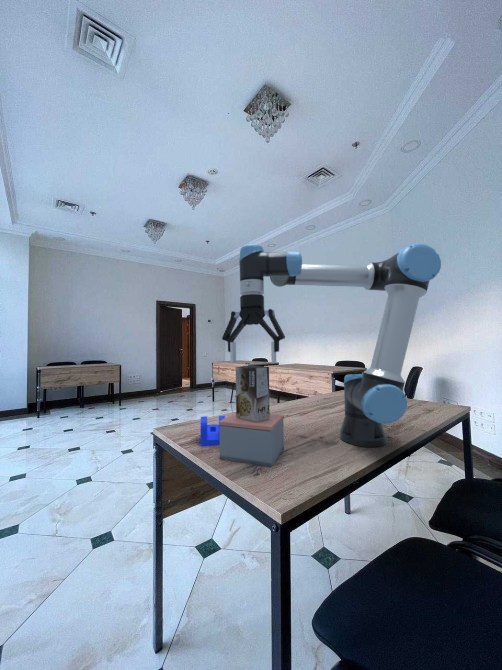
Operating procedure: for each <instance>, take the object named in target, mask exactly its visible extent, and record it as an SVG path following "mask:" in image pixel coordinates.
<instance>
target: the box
mask: <svg viewBox="0 0 502 670" xmlns="http://www.w3.org/2000/svg"><path fill="white" fill-rule="evenodd" d="M219 431H220V445H219V459H220V460H224V461H230V462H231V461H232V462H237V463H243V464H250V465H255V466H256V465H257V466H262V467H269V468H272V467H273V466H274V464H275V462H276V460H277V459H278V458H279V457H280V455H281V453H282V452H283V451H284V450H285V449H284V448H285V447H284V445H285V442H284V441H285V440H284V435H285V433H284V419H283V420H282V421H281V422H280V423H279V424H278V425H277V426H276V427H275V428H274V429H273V430H272V431H269V430H260V429H251V428H242V427H233V426H224V425H220V426H219Z"/></svg>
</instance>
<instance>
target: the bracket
mask: <svg viewBox="0 0 502 670" xmlns="http://www.w3.org/2000/svg"><path fill="white" fill-rule="evenodd" d="M224 418H226V416H225V415H218V422H219V421H221V420H223V419H224ZM219 426H220V425H219V423H218V424H215V423H214V424H208V416H200V447H212V446H213V447H214V446H220V431H219Z"/></svg>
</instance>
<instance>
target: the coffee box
mask: <svg viewBox="0 0 502 670" xmlns="http://www.w3.org/2000/svg"><path fill="white" fill-rule="evenodd" d="M235 411H236V418H240V419H245V420H249V421H253V422H260V421H263V420H267V419H269V418H270V414H271V413H270V366H264V365H263V366H260V365H243V366H236V367H235Z"/></svg>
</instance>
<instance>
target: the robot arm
mask: <svg viewBox="0 0 502 670" xmlns="http://www.w3.org/2000/svg"><path fill="white" fill-rule="evenodd" d="M440 257H441V256H440V255H439V254H438V253H437V251H436V249H434V248H433V247H432V246H430V245H428V244H426V243H425V244H424V243H413V244H410V245H408V246H406V247H403V248H401V250H399V251H398V252H397V253H396V254H394V255H392V256H391V257H389V258H388V259H385V260H382V261H379V262H378V261H377V262H371V261H370V262H368V263H366V265H365V264H364V265H361V264H328V263H327V264H326V263H325V264H322V263H321V264H320V263H317V264H316V263H303V256H302V253H301V252H300V251H291V250H288V251H272V252H271V251H268V252H267V251H264V247H263V246H262V245H260V244H255V243H249V244H245V245H243V246H242V247H240V250H239V293H240V295H241V296H240V297H239V305H240V306H239V307H240V309H239V311H235V310H233V311H231V312H230V319H229V321H228V323H227V326H226V328H225V331H224V332H223V334H222V337H221V339H222V341H225V342H227V352H228V353H230V363H231V364H233V363H237V342H236V341H235V340H236V339H237V337H238V336H239V335H240V334H241V332H242V330H244V328H245V327H246V326H247V325H248V326H252V325H256V326H258V325H260V326H261V327H262V328H263V330H264V331H265V332H266V333H267V335H269V336H270V338H271V339H272V341H271V343H270V345H271V346H270V349H271V350H270V351H271V364H276V363H277V353H278V352H280V341H282V340H285V339H286V336H285V333H284V331H283V330H282V328H281V325H280V323H279V321H278V319H277V318H276V315H275V310H274V309H272V308H269V309H266V310H265V296H264V294H265V289H264V288H265V287H264V283H265V281H264V277H269V279H270V282H271V283H272V284H273V286H275V287H277V288H278V287H279V288H280V287H285V286H318V287H320V286H322V287H323V286H326V287H350V288H351V287H354V288H356V287H357V288H364V289H365V290H367V291H369V290H370V291H380V292H381V291H382V292H386V293H387V298H386V302H385V306H384V309H383V315H382V318H381V323H380V327H379V330H378V334H377V340H376V343H375V348H374V351H373V355H372V359H371V363H370V367H369V368H368V369H366V370H364V371H363V373H358V374H357V373H353V374H352V373H351V374H346V375H345V376H344V378H343V380H344V381H343V391H344V392H343V393H344V397H343V398H344V416H343V420H342V424H341V426H340V430H339V438H340V440H341V441H343V442H345V443H346V444H347V443H348V444H350V445H353V446H358V447H359V446H360V447H366V448H367V447H368V448H372V447H373V448H374V447H375V448H376V447H382V446H384V445H386V444H387V434H386V432H385V429H384V426H383V424H384V425H386V424H387V425H388V424H392V423H394V422H395V423H396V422H397V421H399V420H400V419H401V418H402V417H403V416H404V415H405V413H406V411H407V408H408V399H407V397H406V395H405V392H404V388H405V380H404V379H403V376H402V375H401V374H402V370H403V366H404V362H405V359H406V353H407V351H408V350H407V349H408V346H409V342H410V338H411V334H412V329H413V325H414V321H415V317H416V313H417V309H418V304H419V300H420V299H421V298H422V297H424V296H425V295H426V294H427V292H428V288H429V286H430V285H429V284H430V281H431V280H434V279H435V277H437V276H438V274H439V273H440V271H441V268H442V260H441V258H440ZM265 316H266V317H268V318H269V320H270V322H271V323H272V326H273V328H274V330H275V331H273V329H272V328H271V326H270V325H269V324H268V323H267V322H266V321H265V319H264V318H265ZM239 318H241V319H240V320H239V322H238V324H237V326H236V323H237V321H238V319H239ZM235 326H236V327H235ZM234 328H235V329H234ZM233 329H234V330H233ZM275 332H276V333H275Z"/></svg>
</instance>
